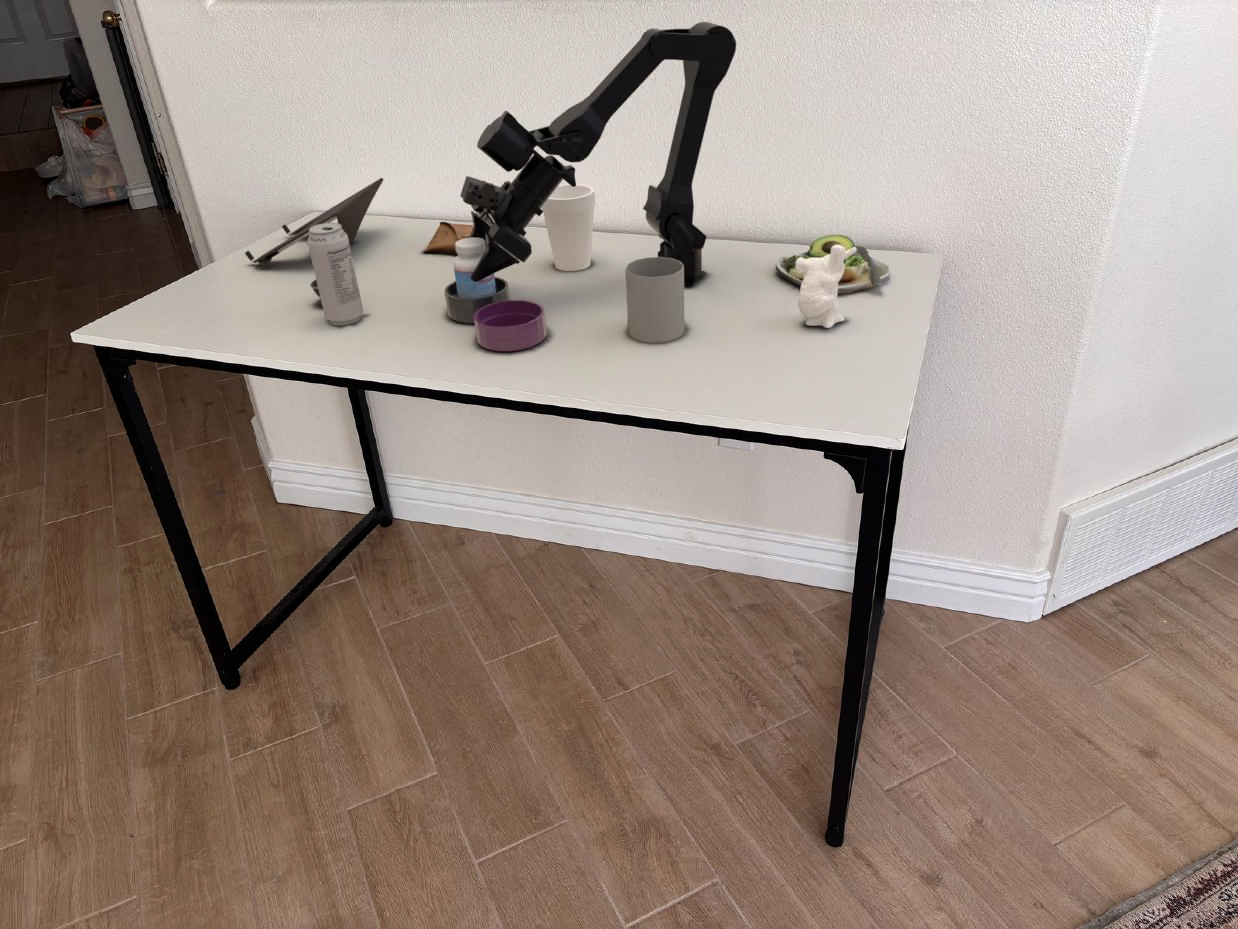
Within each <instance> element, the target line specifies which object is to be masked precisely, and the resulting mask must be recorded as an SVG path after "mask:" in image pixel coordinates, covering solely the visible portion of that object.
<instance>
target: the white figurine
mask: <svg viewBox="0 0 1238 929" xmlns="http://www.w3.org/2000/svg"><path fill="white" fill-rule="evenodd" d="M856 251H857V249H856V247H853V248H851V249H849V250H847V251H845V248H844V247H842V246H841V245H834V246H832V247H831V254H828V255H826V256H824V257H822V258H814V257H813V258H808V259H804V258H802V257H800V258H798V259H797V260H796V265H795V266H796V271H797V273H802V272H803V276H804V279H803V282H802V284H801V286H800V289H799V293H798V298H797V305H798V310H799V312H800V314H801V315H802V316H804V317H806V318H807V319H806V321H805V325H806V326H809V327H810V326H811V327H814V326H815V327H816V326H817V327H818V326H821V327H823V328H825V329H830V328H832V327H833V326H834V325H835V324H837V323H841V322H844V321H845V318H844V316H842V315H841V314H839V313H838V312H837V311H838V307H839V300H838V295H839V294H837V292H838V282H839V281H840V279H841V277H842V275H843V273H844V268H845V267H844V263H843V261H844V260H845V259H847V258H848V257H849V256H851V255H853V254H854V253H855V252H856Z"/></svg>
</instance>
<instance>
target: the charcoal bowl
mask: <svg viewBox="0 0 1238 929" xmlns="http://www.w3.org/2000/svg"><path fill="white" fill-rule="evenodd" d="M494 278H495V285H496V294H494V295H491V296H487V297H483V298H474V299H463V298H458V293H457V286H456V280H455V281H452V282H451V283H449V284H447V285H446V287H445V288H444V298H445V303H446V311H447V316H448V317H449V318H450V319H451V320H453V321H456V322H459V323H462V324H475V322H474V314H475V313H476V311H477V310H479V309H480V308H482V307H484V306H486V305H489V304H492V303H496V302H500V301H507V300H511V297H510V288H509V283H508V281H507V280H505V279H504V278H502V277H498V276H494Z"/></svg>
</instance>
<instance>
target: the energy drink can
mask: <svg viewBox="0 0 1238 929" xmlns="http://www.w3.org/2000/svg"><path fill="white" fill-rule="evenodd" d="M309 232H310V234H309V235H308V236H307V246H308V250H309V254H310V259H311V263H312V267H313V272H314V276H315V280H317V285H318V289H319V293H320V297H321V298H320V297H319V298H320V299H321V302H322V306H323V308H322V310H323V315H324V318H325V320H327V321H329V323H330V324H331V325H333V326H348V325H352V324H355V323H357V322H359V321H360V320H361V319H362V315H363V314H364V307H363V303H362V298H361V293H360V288H359V284H358V279H357V273H356V270H355V265H354V264H355V263H354V260H353V255H352V250H351V245H349V240H348V235H347V234H346V233H345V232H344V231H343V229H342V226H341V224H338V222H330V223H323V224H318V225H315V226H313V227H311V228H310V229H309Z"/></svg>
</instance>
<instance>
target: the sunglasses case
mask: <svg viewBox="0 0 1238 929" xmlns="http://www.w3.org/2000/svg"><path fill="white" fill-rule="evenodd" d="M472 229H473V224H460V223H452V222H447V221H440V222H439V226H437V229H436V231H435V232H434V235H433V236H432V237H431V240H430V241H429V244H428V245H427V247H426V249H424V250H423V251H422V252H423V253H437V254H446V255H455V256H458V254H457V252H456V247H455V243H456V242H457V241H459V240H461V239H465V238H469V237H470V234H471V232H472Z"/></svg>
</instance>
